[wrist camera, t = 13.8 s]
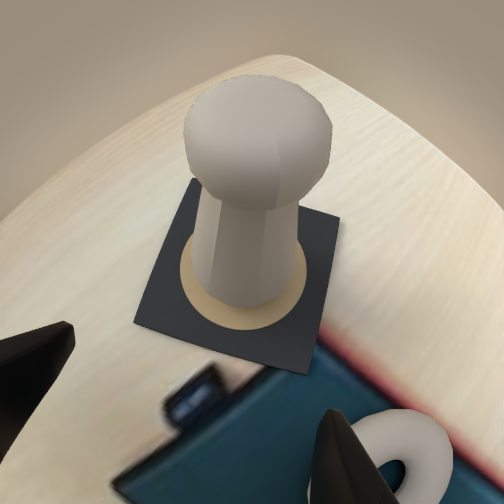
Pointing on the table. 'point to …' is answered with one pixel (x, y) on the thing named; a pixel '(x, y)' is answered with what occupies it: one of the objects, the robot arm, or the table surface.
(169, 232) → the coaster
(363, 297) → the table surface
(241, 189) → the salt shaker
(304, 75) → the table surface
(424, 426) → the donut
